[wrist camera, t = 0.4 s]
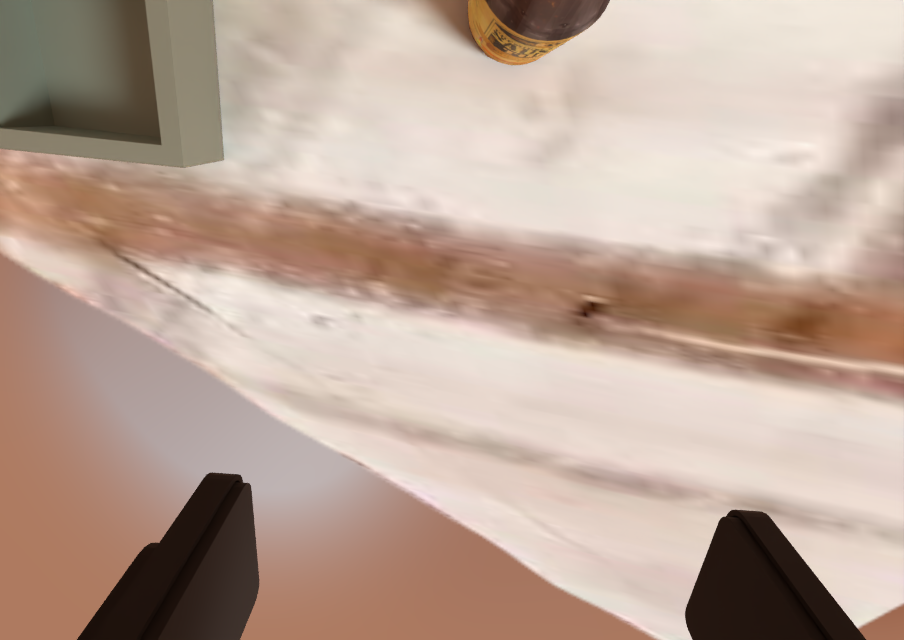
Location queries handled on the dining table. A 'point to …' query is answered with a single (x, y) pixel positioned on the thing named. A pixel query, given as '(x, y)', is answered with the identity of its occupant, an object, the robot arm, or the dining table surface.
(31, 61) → the box
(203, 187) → the dining table surface
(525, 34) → the sauce bottle
